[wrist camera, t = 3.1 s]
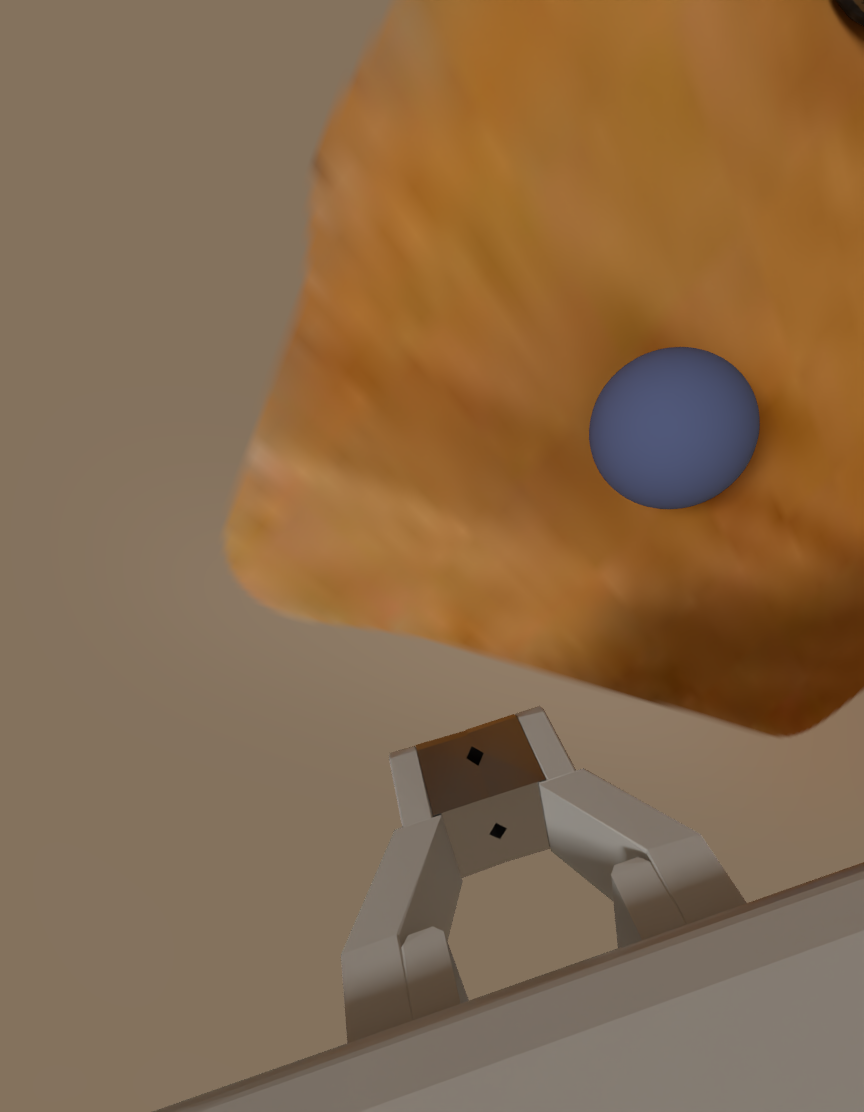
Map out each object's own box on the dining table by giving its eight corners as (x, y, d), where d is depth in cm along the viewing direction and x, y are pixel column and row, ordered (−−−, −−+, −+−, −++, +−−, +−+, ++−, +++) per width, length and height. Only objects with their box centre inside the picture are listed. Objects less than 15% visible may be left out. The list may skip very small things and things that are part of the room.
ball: (700, 317, 23) (807, 345, 18) (697, 454, 26) (790, 510, 21) (558, 355, 22) (630, 394, 18) (572, 490, 25) (637, 555, 21)
